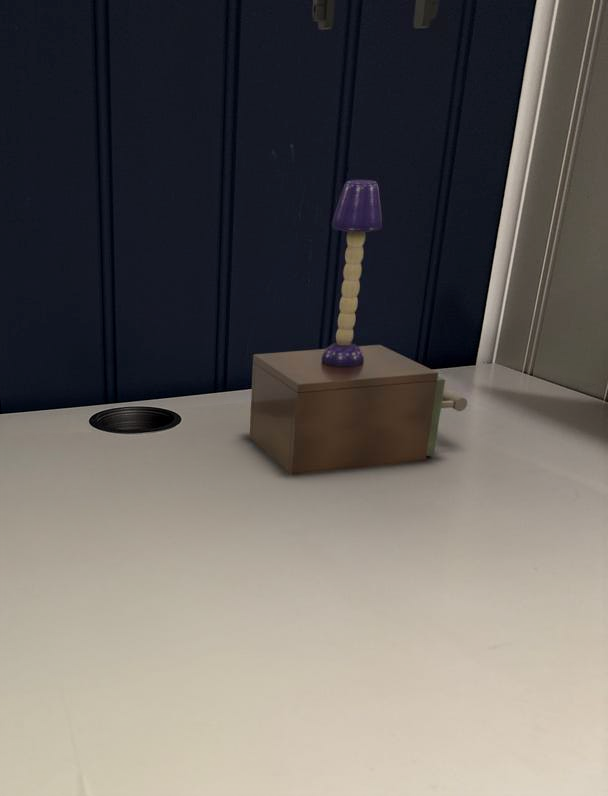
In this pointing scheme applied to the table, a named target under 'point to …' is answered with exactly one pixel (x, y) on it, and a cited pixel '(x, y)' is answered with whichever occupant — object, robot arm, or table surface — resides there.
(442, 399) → the drawer
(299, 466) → the cabinet
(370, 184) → the toy lamp
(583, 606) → the table surface
